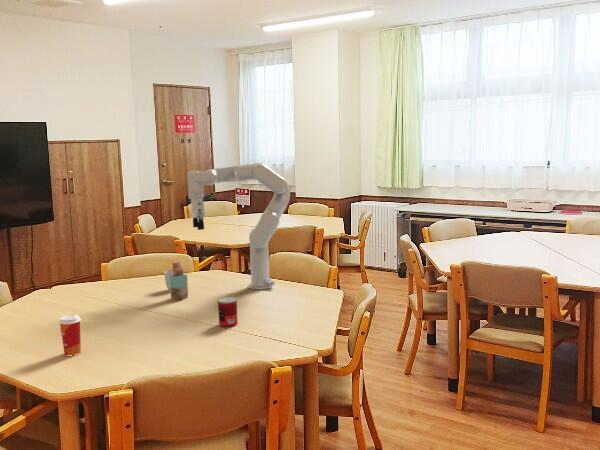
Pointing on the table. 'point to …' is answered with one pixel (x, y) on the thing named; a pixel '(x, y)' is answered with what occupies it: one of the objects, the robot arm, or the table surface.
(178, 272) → the drum
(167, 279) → the cup
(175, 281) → the tower top
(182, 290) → the tower bottom
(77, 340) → the paper cup
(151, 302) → the table surface
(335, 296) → the table surface
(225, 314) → the canned food
